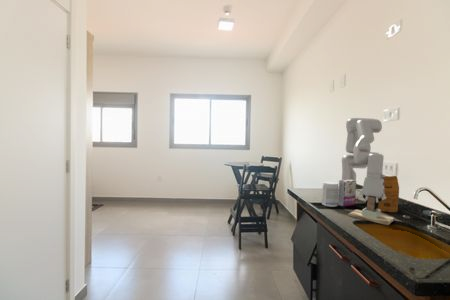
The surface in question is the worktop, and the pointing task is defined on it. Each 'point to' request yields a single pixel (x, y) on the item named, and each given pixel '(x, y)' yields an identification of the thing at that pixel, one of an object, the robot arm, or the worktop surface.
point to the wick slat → (371, 203)
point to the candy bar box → (347, 192)
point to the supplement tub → (330, 194)
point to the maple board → (381, 219)
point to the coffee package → (390, 195)
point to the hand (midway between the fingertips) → (371, 208)
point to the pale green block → (371, 213)
